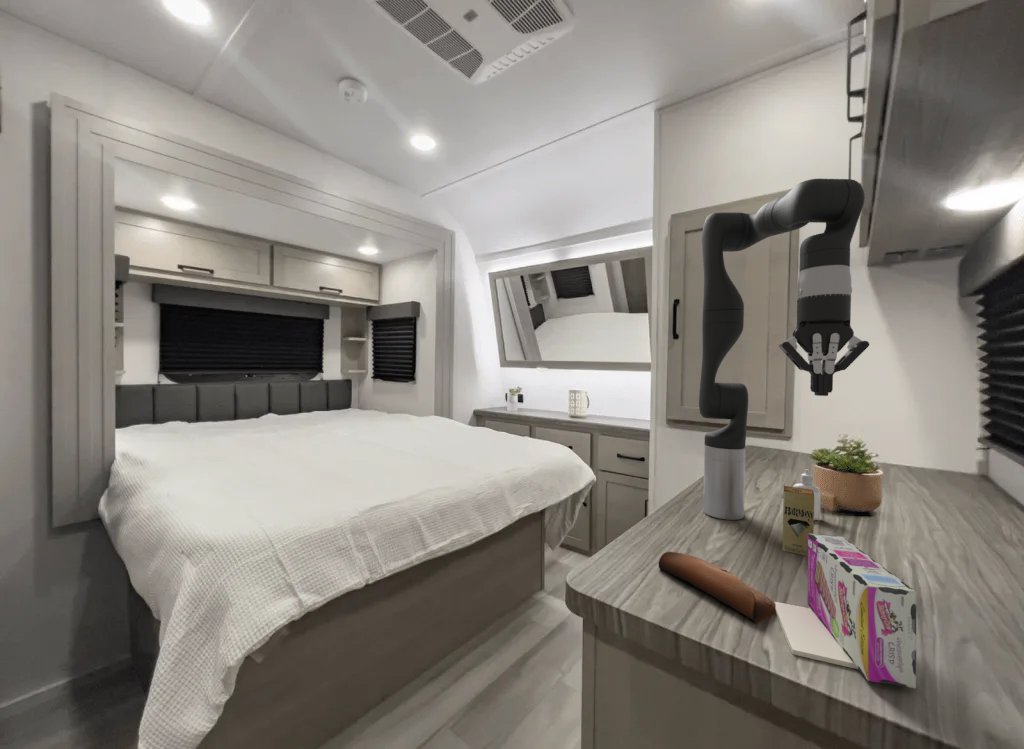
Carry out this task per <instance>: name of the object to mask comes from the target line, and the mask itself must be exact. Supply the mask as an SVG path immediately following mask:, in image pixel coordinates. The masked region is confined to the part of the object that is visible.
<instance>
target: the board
mask: <svg viewBox="0 0 1024 749" xmlns="http://www.w3.org/2000/svg"><path fill="white" fill-rule="evenodd" d="M774 602H775V604H776V607H775V609H776V614H775V615H776V617H777V620H778V622H779V625H780V627H781V630H782V632H783V635H784V636H785V640H786V642H787V645H788V647H789V650H790V652H791V654H792V655H794V656H799V657H803V658H808V659H812V660H815V661H820V662H823V663H828V664H829V663H830V664H833V665H838V666H842V667H846V668H851V669H856V670H859V669H858V668H857V666H856V665H855V664H854V662H853V661H852V660H851V659H850V657H849V656H848V655H847V654H846V652H845V651H844V650H843V649H842V647H841V646H840V645H839V644H838V642H837V641H836V639H835V638H834V637H833V636H832V635H831V633H830V632H829V631H828V629H827V628H826V627H825V626H824V624H823V623H822V622H821V621H820V619H819V618H818V617H817V616H816V614H815V613H814V612H813V611H812V609H811V608H810V607H804V606H800V605H793V604H788V603H784V602H783V603H782V602H779V601H774Z"/></svg>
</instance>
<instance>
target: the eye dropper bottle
mask: <svg viewBox="0 0 1024 749" xmlns="http://www.w3.org/2000/svg"><path fill="white" fill-rule="evenodd" d="M813 483H814V475H812V474H811V473H810V471H809V469H804V472H803V473H801V474H800V483H798V482H797V483H795V484H794V485H792V487H797V488H804V489H811V490H813V493H814V521H815V520H818V521H820V520H821V519H820V518H821V488H820V487H818V486H816V485H814V484H813Z"/></svg>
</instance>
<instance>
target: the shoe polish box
mask: <svg viewBox="0 0 1024 749" xmlns="http://www.w3.org/2000/svg"><path fill="white" fill-rule="evenodd" d="M782 505H783V506H782V510H783V511H782V512H783V513H782V551H784V552H790V553H794V554H798V555H804V556H807V557H808V552H807V534H814V527H815V525H814V524H815V520H814V493H813V490H811V489H804V488H797V487H793V486H789V485H783V504H782Z"/></svg>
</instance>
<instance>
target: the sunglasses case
mask: <svg viewBox="0 0 1024 749" xmlns="http://www.w3.org/2000/svg"><path fill="white" fill-rule="evenodd" d="M658 568H659V569H660V570H662V571H664V572H665V573H667V574H670V575H672V576H675V577H676V578H679V579H681V580H683V581H686V582H687V583H690V585H692V586H694V587H696V588H697V589H699V590H701V591H703V592H705V593H707V594H709V595H710V596H712V597H713V598H715V599H716V600H719V602H721V603H724V604H725V605H727V606H729V607H731V608H732V609H734V610H736V612H739V613H741V614H743V615H744V616H745V617H747V618H748V619H751V620H753V622H754V623H755V624H756V623H760V622H762V621H763V620H764V621H765V620H766V619H768V618H770V617H772V616H775V615H776V609H775V607H776V604H775V602H776V601H774V600H773V599H771V598H770V597H768V596H767V595H766V594H764V593H762V592H761V591H759V590H758V589H756V588H755V587H752V586H751V585H749V584H747V583H745V582H743V581H742V580H741V578H740V577H738V575H736V574H735V573H733V572H730V571H728V570H727V569H725V568H723V567H720V566H718V565H717V564H713V563H711V562H708V561H706V560H704V559H702V558H699V557H697V556H693V555H691V554H687V553H682V552H677V551H666V552H664V553H663V554H662V555H661V556H660V558H659V559H658Z"/></svg>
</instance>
